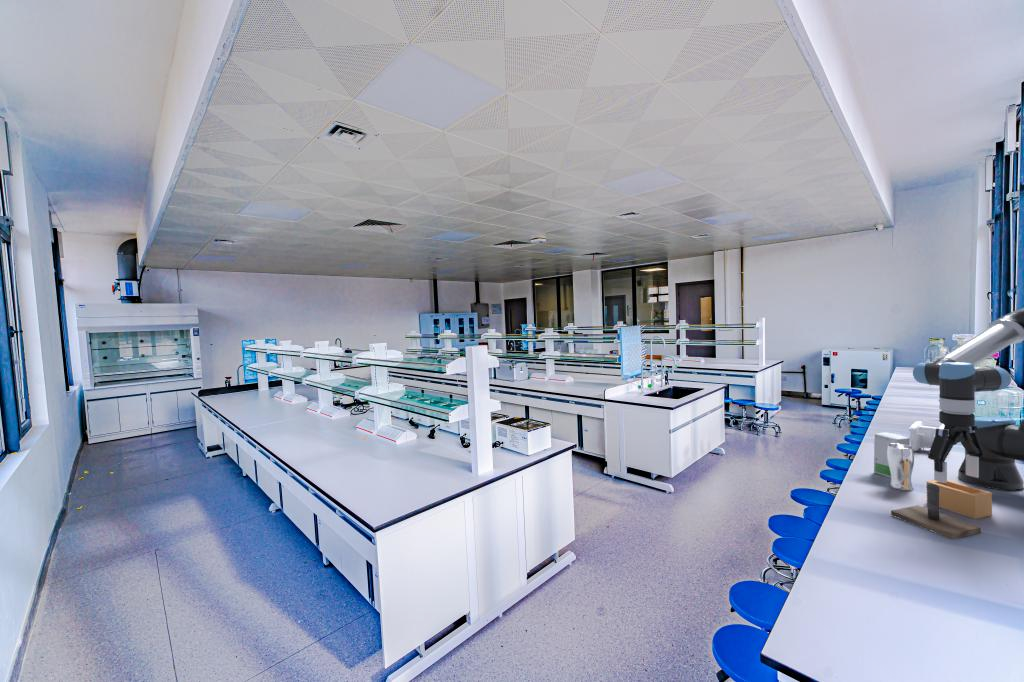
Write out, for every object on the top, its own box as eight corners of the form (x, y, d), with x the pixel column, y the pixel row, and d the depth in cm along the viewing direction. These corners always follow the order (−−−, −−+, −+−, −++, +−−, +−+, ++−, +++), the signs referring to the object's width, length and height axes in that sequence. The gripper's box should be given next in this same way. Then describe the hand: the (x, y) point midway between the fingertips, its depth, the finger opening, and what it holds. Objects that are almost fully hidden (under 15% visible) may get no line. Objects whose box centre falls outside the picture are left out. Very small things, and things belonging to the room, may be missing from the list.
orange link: (926, 502, 134) (926, 481, 134) (942, 499, 136) (942, 478, 136) (975, 519, 123) (975, 496, 122) (992, 515, 124) (991, 492, 124)
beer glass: (893, 490, 144) (892, 448, 144) (884, 482, 151) (883, 442, 150) (919, 492, 142) (918, 449, 141) (908, 484, 148) (907, 443, 148)
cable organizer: (943, 457, 171) (942, 430, 171) (908, 452, 180) (908, 426, 179) (949, 449, 180) (949, 423, 180) (916, 444, 189) (915, 419, 188)
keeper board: (917, 509, 130) (916, 472, 130) (980, 532, 116) (980, 490, 115) (891, 515, 128) (890, 477, 127) (952, 539, 113) (951, 496, 113)
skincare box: (873, 472, 160) (872, 433, 160) (885, 470, 162) (885, 431, 161) (898, 480, 152) (897, 439, 152) (911, 477, 154) (910, 436, 153)
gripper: (969, 406, 134) (969, 470, 135) (912, 413, 129) (912, 479, 130) (1001, 410, 127) (1001, 478, 128) (942, 418, 122) (942, 488, 122)
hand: (956, 478), depth 129 cm, fingers open, 13 cm apart
